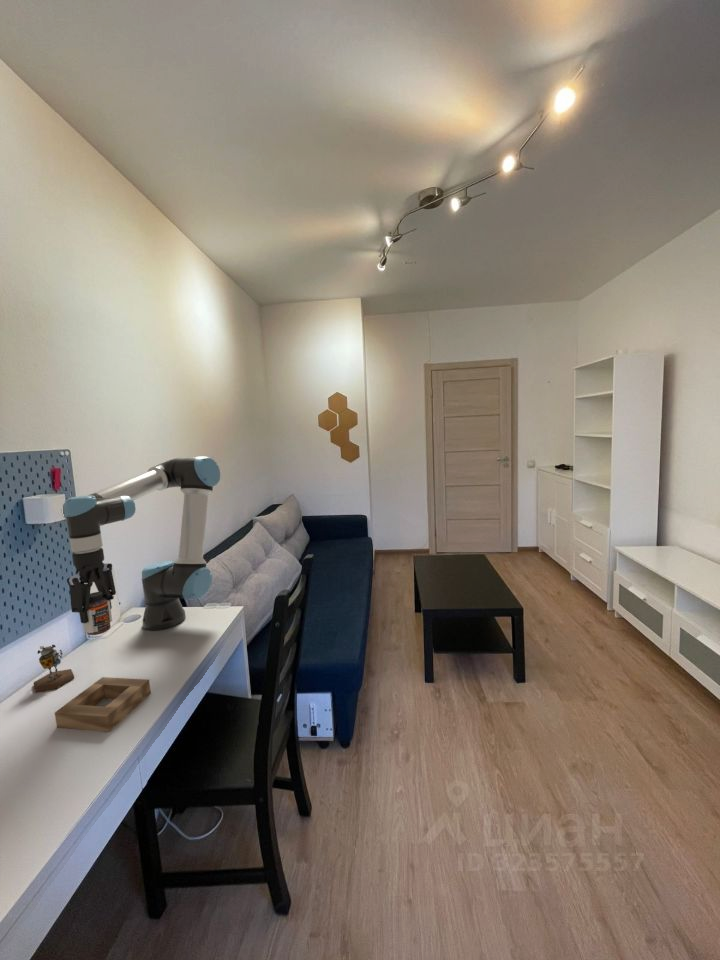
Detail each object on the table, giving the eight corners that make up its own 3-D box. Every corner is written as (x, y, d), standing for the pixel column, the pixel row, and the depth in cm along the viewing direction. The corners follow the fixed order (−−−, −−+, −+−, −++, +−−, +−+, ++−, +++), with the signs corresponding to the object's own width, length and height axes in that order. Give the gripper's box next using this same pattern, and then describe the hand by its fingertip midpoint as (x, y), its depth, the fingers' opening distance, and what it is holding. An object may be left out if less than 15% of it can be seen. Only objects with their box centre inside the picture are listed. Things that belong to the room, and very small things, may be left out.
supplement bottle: (99, 636, 117) (93, 598, 116) (82, 635, 119) (76, 598, 117) (115, 626, 123) (110, 590, 122) (99, 626, 124) (93, 590, 123)
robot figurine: (82, 670, 129) (76, 633, 128) (68, 687, 120) (62, 648, 119) (42, 676, 127) (36, 639, 126) (24, 694, 118) (18, 655, 117)
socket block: (104, 690, 118) (102, 677, 117) (150, 693, 115) (149, 679, 114) (56, 727, 103) (54, 712, 102) (108, 731, 100) (106, 716, 100)
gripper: (102, 541, 128) (112, 612, 131) (45, 560, 110) (58, 642, 112) (123, 540, 127) (133, 612, 129) (69, 560, 108) (82, 643, 111)
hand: (98, 626), depth 121 cm, fingers closed on supplement bottle, 6 cm apart
